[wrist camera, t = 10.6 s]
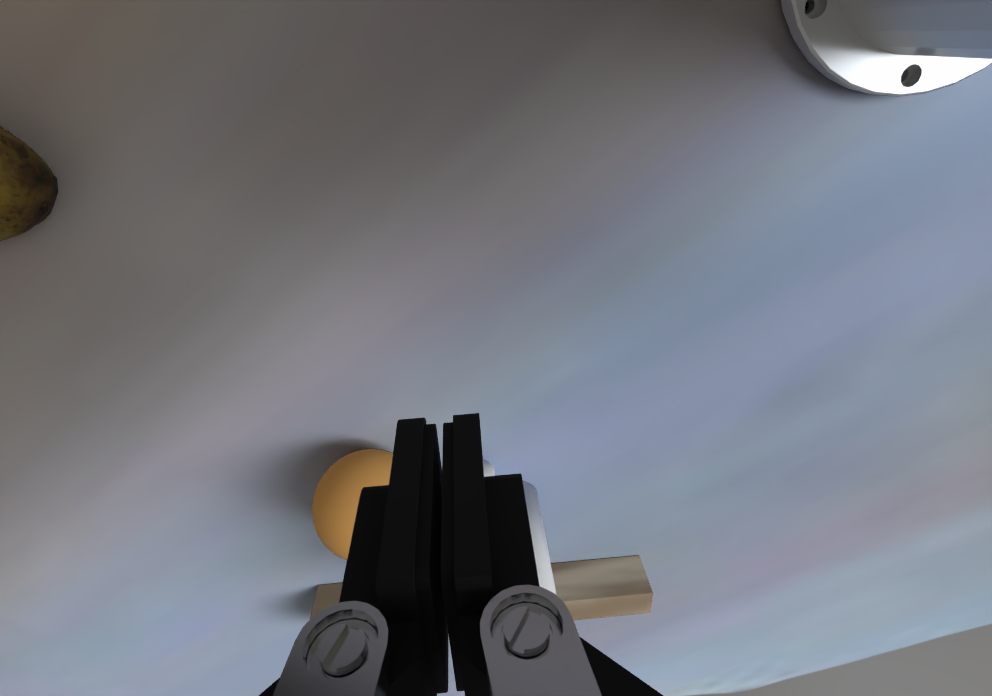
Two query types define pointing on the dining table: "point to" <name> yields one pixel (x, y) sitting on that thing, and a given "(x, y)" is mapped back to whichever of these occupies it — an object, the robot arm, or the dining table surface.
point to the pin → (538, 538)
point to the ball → (346, 495)
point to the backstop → (573, 588)
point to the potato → (23, 187)
